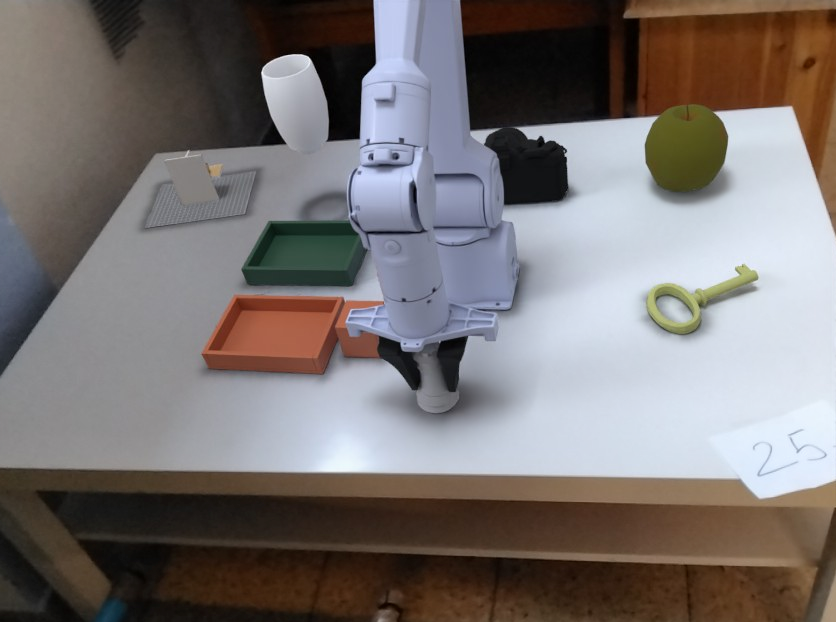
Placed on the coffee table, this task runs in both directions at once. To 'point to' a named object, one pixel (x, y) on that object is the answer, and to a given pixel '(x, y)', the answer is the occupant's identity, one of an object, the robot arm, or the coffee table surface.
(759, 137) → the coffee table surface
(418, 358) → the rook chess piece
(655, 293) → the key
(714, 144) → the apple
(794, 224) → the coffee table surface
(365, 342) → the terracotta block
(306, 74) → the cup
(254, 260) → the green tray
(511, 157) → the film camera
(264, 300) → the terracotta tray
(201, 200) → the architectural model
